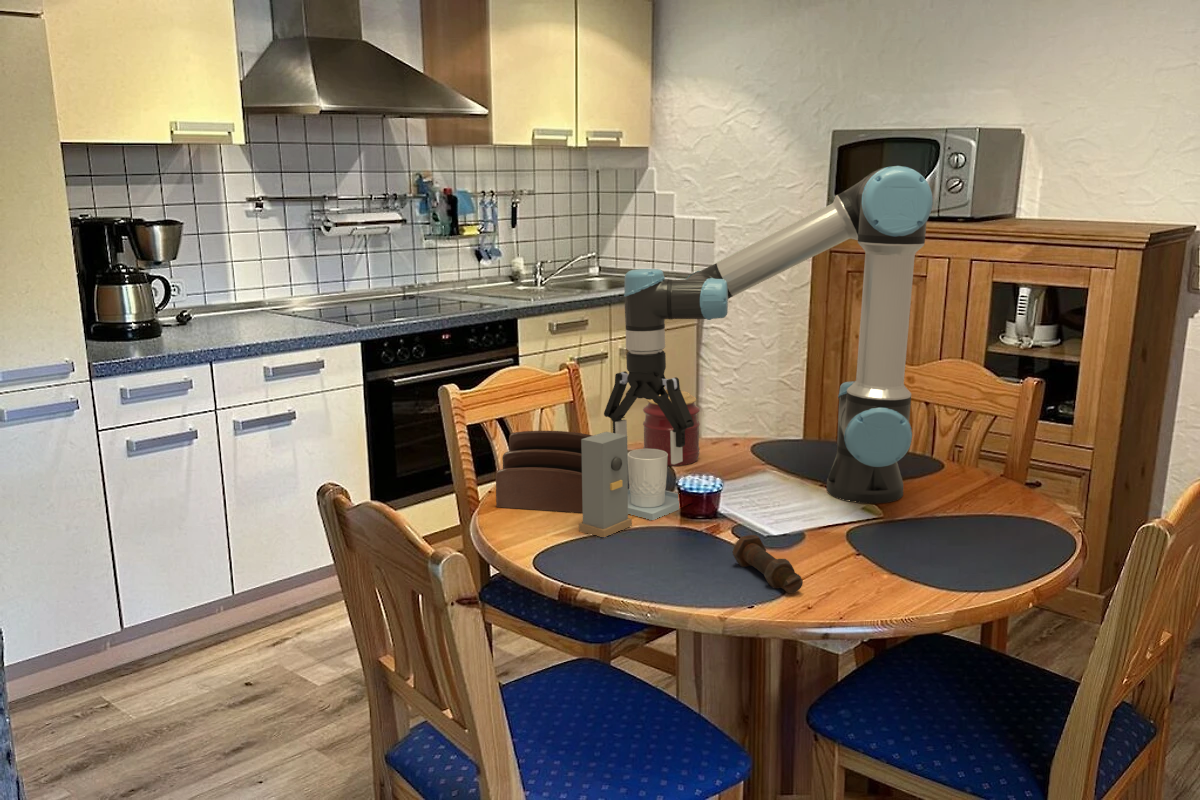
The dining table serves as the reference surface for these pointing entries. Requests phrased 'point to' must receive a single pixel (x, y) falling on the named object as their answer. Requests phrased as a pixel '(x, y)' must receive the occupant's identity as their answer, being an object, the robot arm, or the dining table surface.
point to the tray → (655, 512)
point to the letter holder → (542, 472)
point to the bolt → (766, 564)
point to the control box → (604, 484)
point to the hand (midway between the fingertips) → (648, 457)
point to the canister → (660, 430)
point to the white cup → (647, 477)
